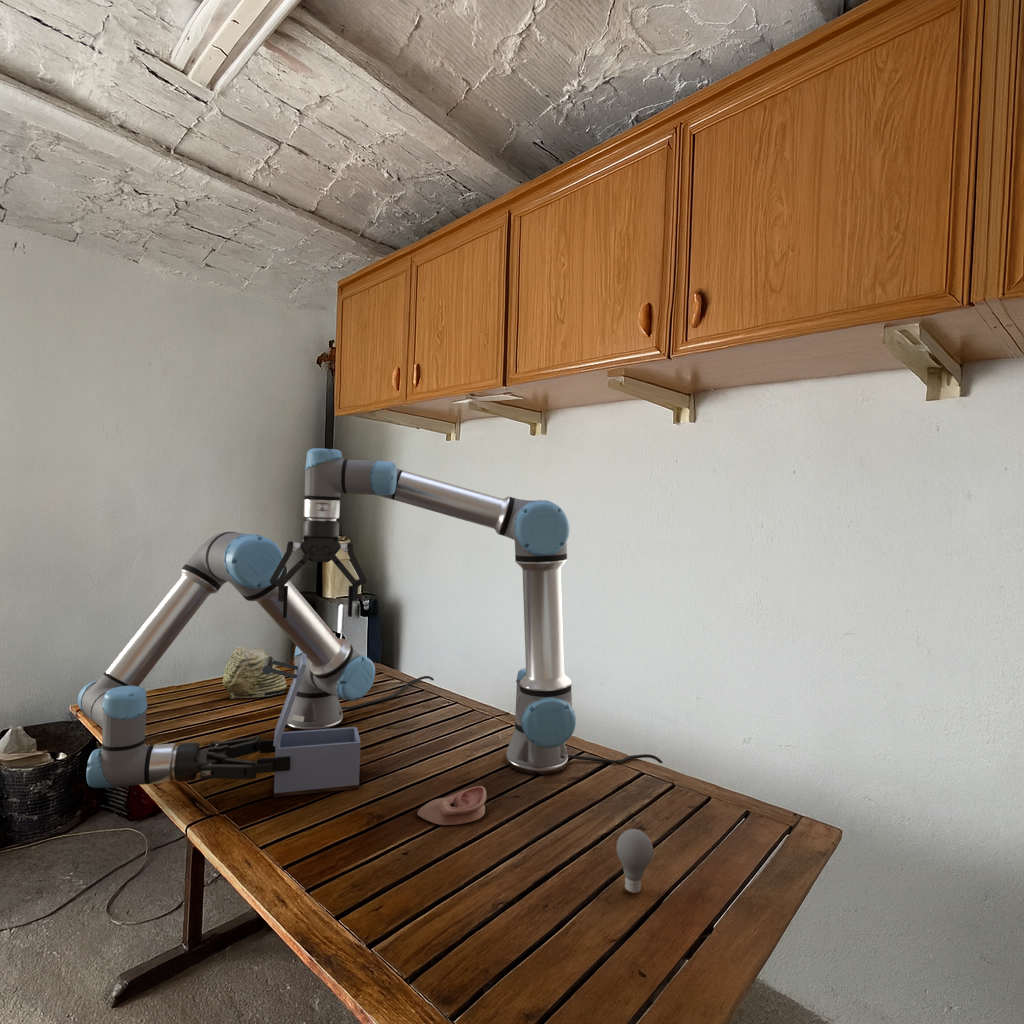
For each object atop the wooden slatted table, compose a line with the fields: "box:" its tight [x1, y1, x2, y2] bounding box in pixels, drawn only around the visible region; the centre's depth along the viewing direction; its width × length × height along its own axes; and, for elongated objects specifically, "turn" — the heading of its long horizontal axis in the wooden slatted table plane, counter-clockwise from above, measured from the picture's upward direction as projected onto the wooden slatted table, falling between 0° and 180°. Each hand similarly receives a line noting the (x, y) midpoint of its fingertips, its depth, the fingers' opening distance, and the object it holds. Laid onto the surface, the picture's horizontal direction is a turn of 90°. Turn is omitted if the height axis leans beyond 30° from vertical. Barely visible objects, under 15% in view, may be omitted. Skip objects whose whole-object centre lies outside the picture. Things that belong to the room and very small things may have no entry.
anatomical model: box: [416, 785, 488, 826], centre depth 129 cm, size 13×4×12 cm
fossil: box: [222, 646, 288, 699], centre depth 198 cm, size 9×18×15 cm, turn 132°
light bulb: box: [615, 828, 654, 894], centre depth 106 cm, size 6×6×10 cm
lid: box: [262, 653, 307, 747], centre depth 137 cm, size 18×10×8 cm
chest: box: [273, 726, 361, 798], centre depth 140 cm, size 17×10×10 cm, turn 108°
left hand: (290, 753), depth 138 cm, fingers closed on chest, 10 cm apart
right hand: (317, 616), depth 139 cm, fingers open, 13 cm apart
